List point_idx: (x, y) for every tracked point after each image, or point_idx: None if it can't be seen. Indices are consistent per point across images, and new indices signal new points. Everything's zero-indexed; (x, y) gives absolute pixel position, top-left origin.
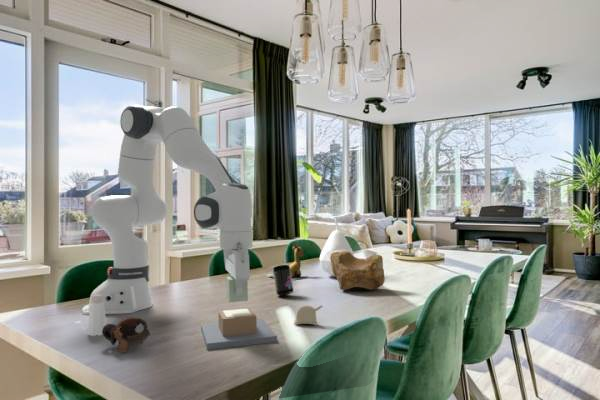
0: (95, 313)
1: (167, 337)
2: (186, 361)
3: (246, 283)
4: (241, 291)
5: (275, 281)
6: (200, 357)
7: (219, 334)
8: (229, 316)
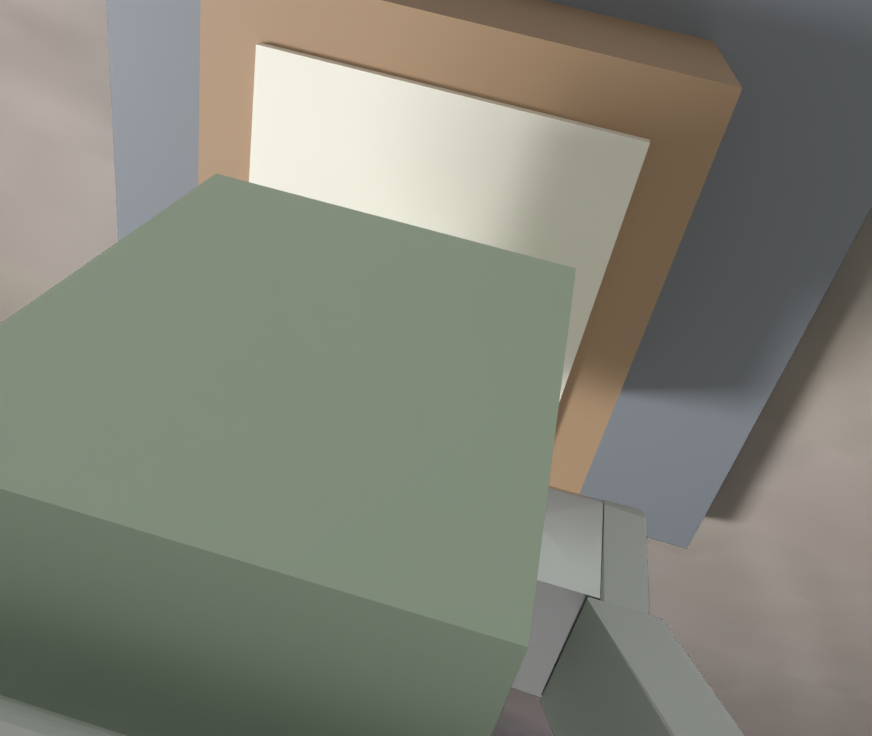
0: None
1: None
2: (809, 671)
3: (533, 537)
4: (638, 564)
5: None
6: (807, 598)
7: None
8: None
